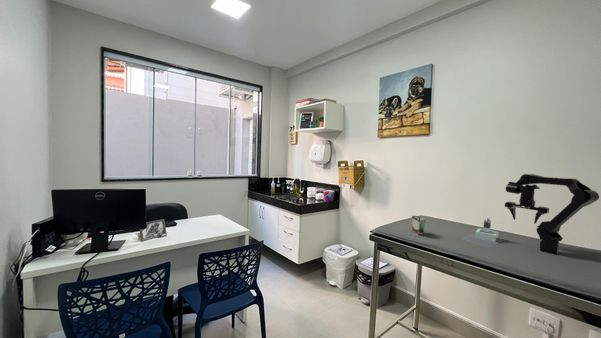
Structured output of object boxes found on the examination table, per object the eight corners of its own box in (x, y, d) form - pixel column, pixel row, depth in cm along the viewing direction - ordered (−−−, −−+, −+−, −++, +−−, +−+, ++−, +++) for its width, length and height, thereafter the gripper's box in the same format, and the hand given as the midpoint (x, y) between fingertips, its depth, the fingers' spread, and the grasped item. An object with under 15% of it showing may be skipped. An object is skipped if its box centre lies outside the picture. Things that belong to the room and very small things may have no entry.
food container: (429, 236, 156) (430, 220, 155) (419, 235, 156) (420, 220, 155) (420, 230, 168) (420, 215, 168) (411, 229, 168) (411, 215, 168)
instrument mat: (505, 240, 151) (505, 239, 151) (488, 248, 137) (488, 247, 137) (476, 232, 164) (476, 232, 164) (457, 239, 150) (457, 239, 150)
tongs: (489, 237, 153) (491, 218, 153) (488, 239, 151) (490, 220, 150) (483, 236, 156) (485, 218, 155) (482, 238, 153) (484, 219, 152)
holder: (497, 238, 153) (498, 231, 153) (495, 242, 146) (495, 235, 146) (478, 234, 160) (478, 228, 160) (475, 237, 153) (475, 231, 153)
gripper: (552, 196, 141) (549, 223, 142) (511, 191, 156) (509, 215, 158) (548, 198, 135) (545, 226, 136) (505, 193, 150) (503, 218, 151)
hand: (524, 221), depth 145 cm, fingers open, 9 cm apart
